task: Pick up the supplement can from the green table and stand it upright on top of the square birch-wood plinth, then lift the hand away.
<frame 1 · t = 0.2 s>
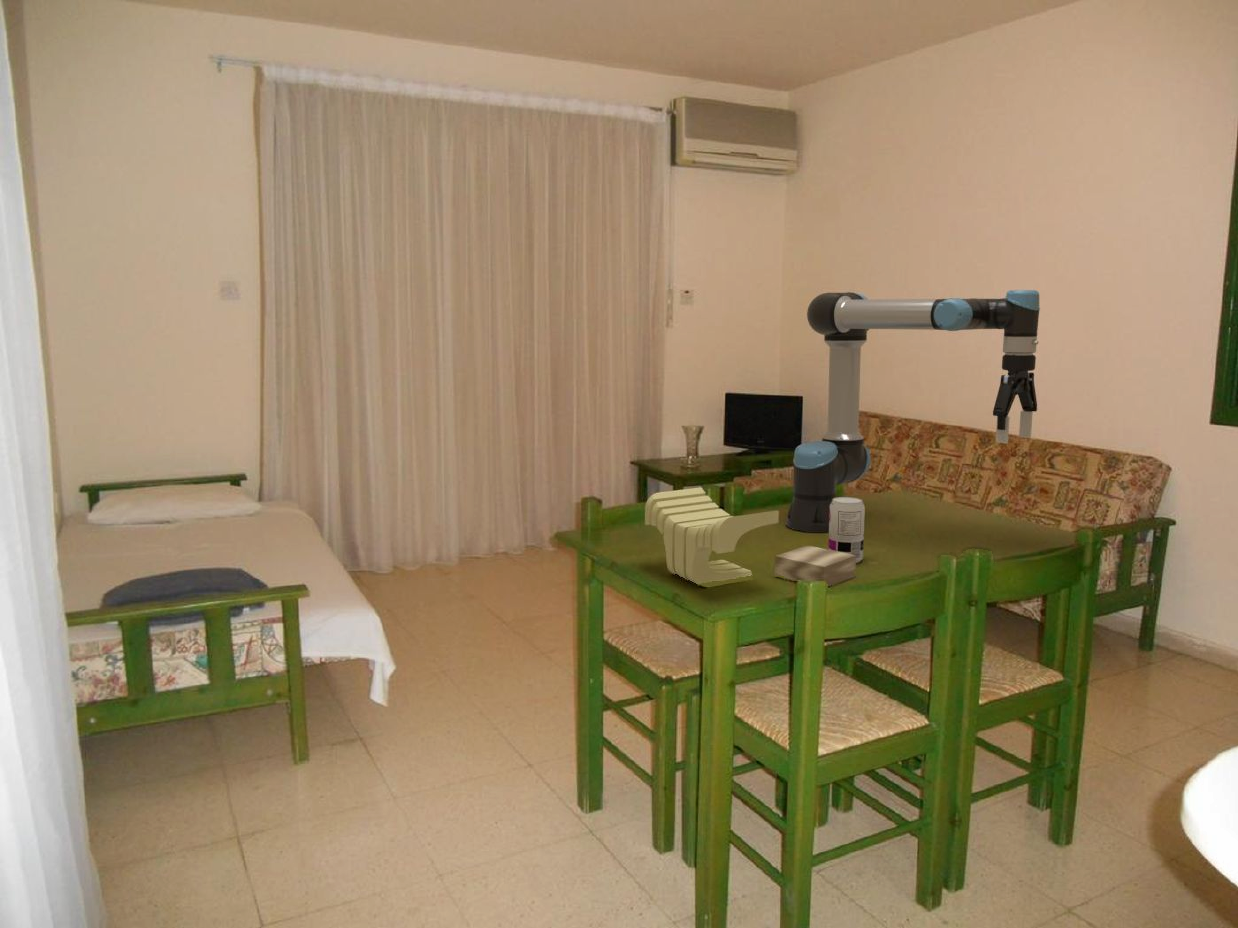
hand: (1013, 440, 228), 28 cm above the table, tool pointing down, fingers open, 13 cm apart
supplement can: (845, 560, 224), on the table
slatted curved stool: (708, 578, 211), on the table
birch plinth: (815, 576, 211), on the table
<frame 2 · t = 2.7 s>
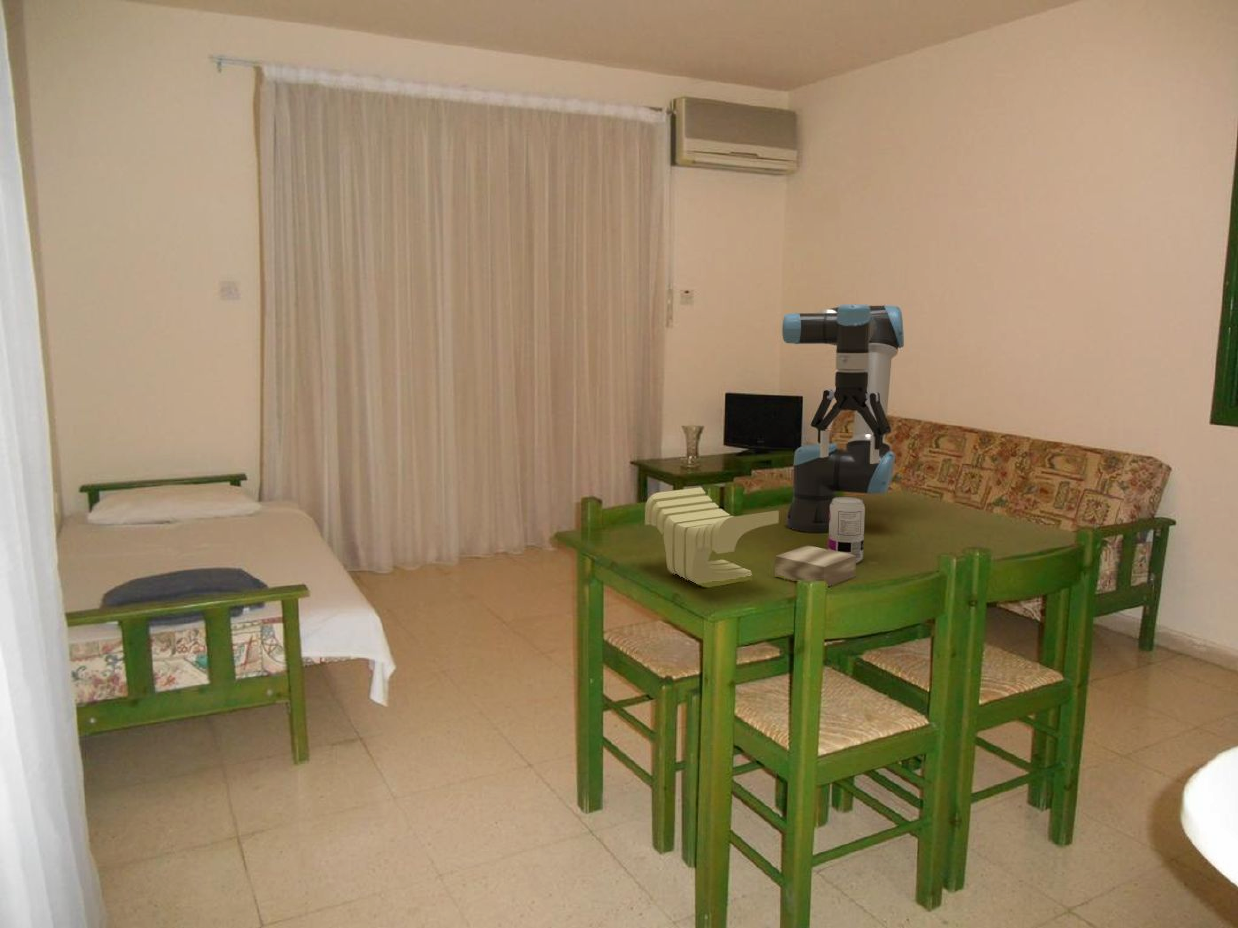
hand: (848, 460, 220), 25 cm above the table, tool pointing down, fingers open, 13 cm apart
nothing on the table moved.
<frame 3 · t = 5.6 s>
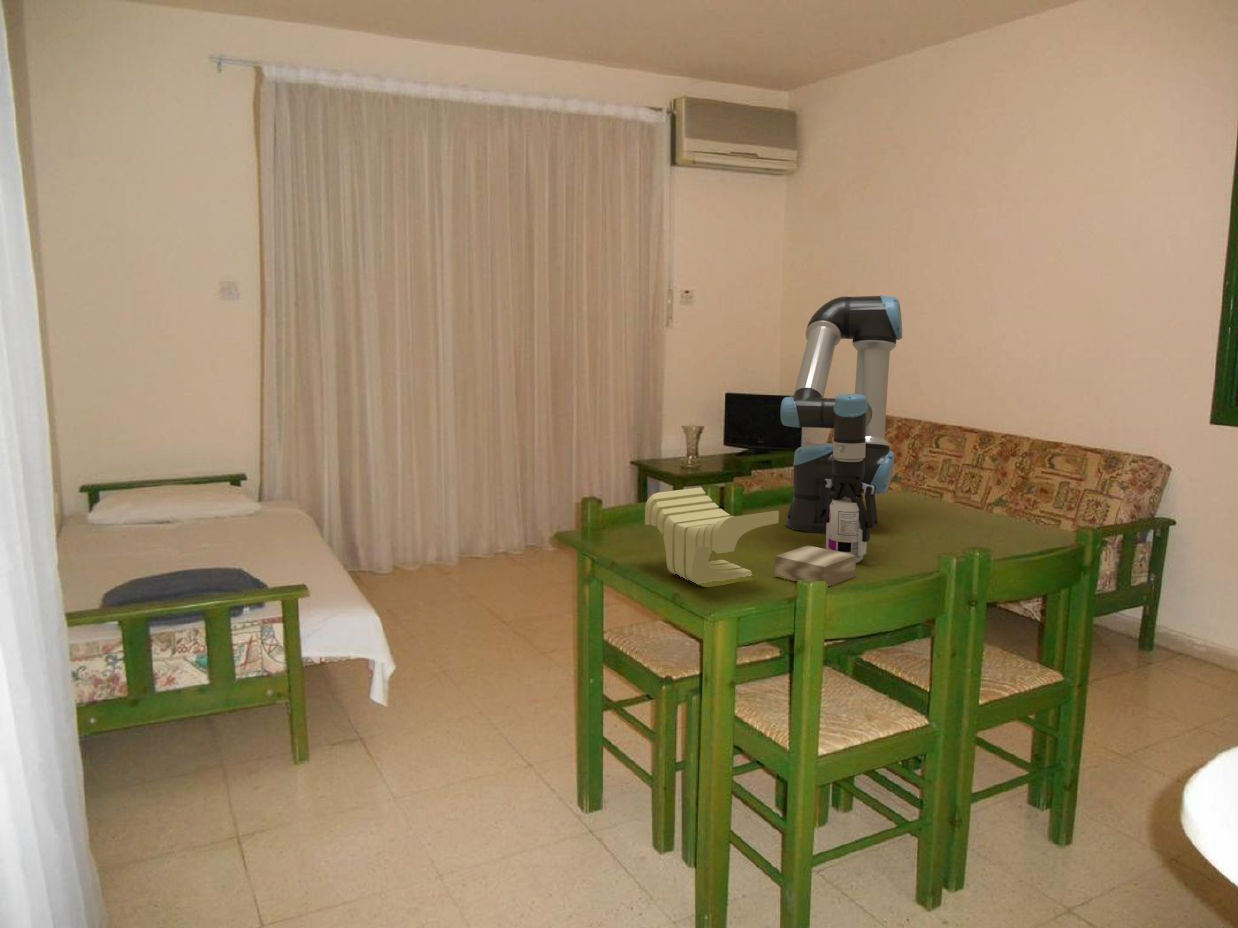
hand: (845, 550, 224), 2 cm above the table, tool pointing down, fingers closed on supplement can, 8 cm apart
supplement can: (845, 560, 224), on the table, touching gripper
everything else where it was.
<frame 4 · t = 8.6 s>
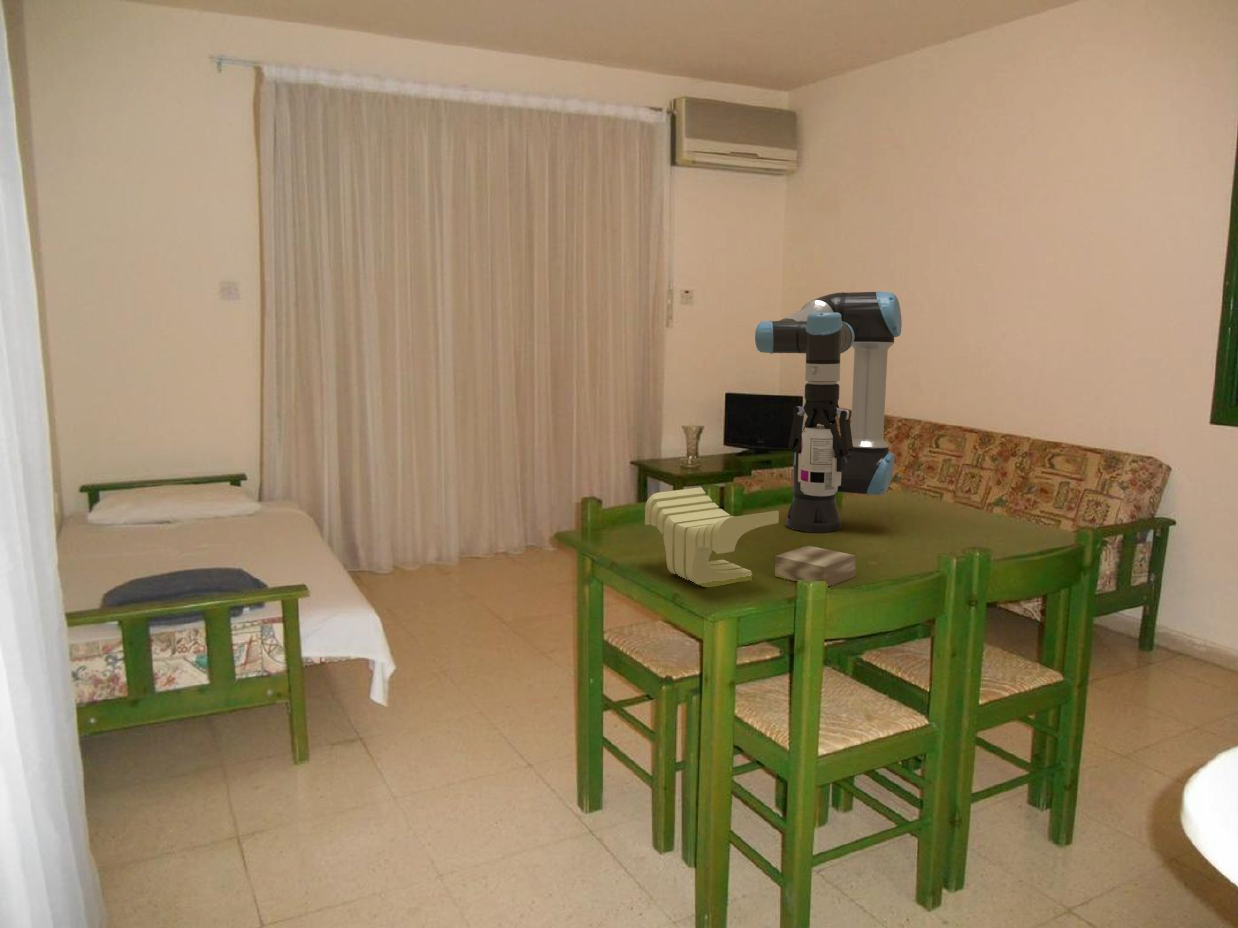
hand: (819, 483, 207), 22 cm above the table, tool pointing down, fingers closed on supplement can, 8 cm apart
supplement can: (818, 494, 208), point 19 cm above the table, touching gripper
everything else where it was.
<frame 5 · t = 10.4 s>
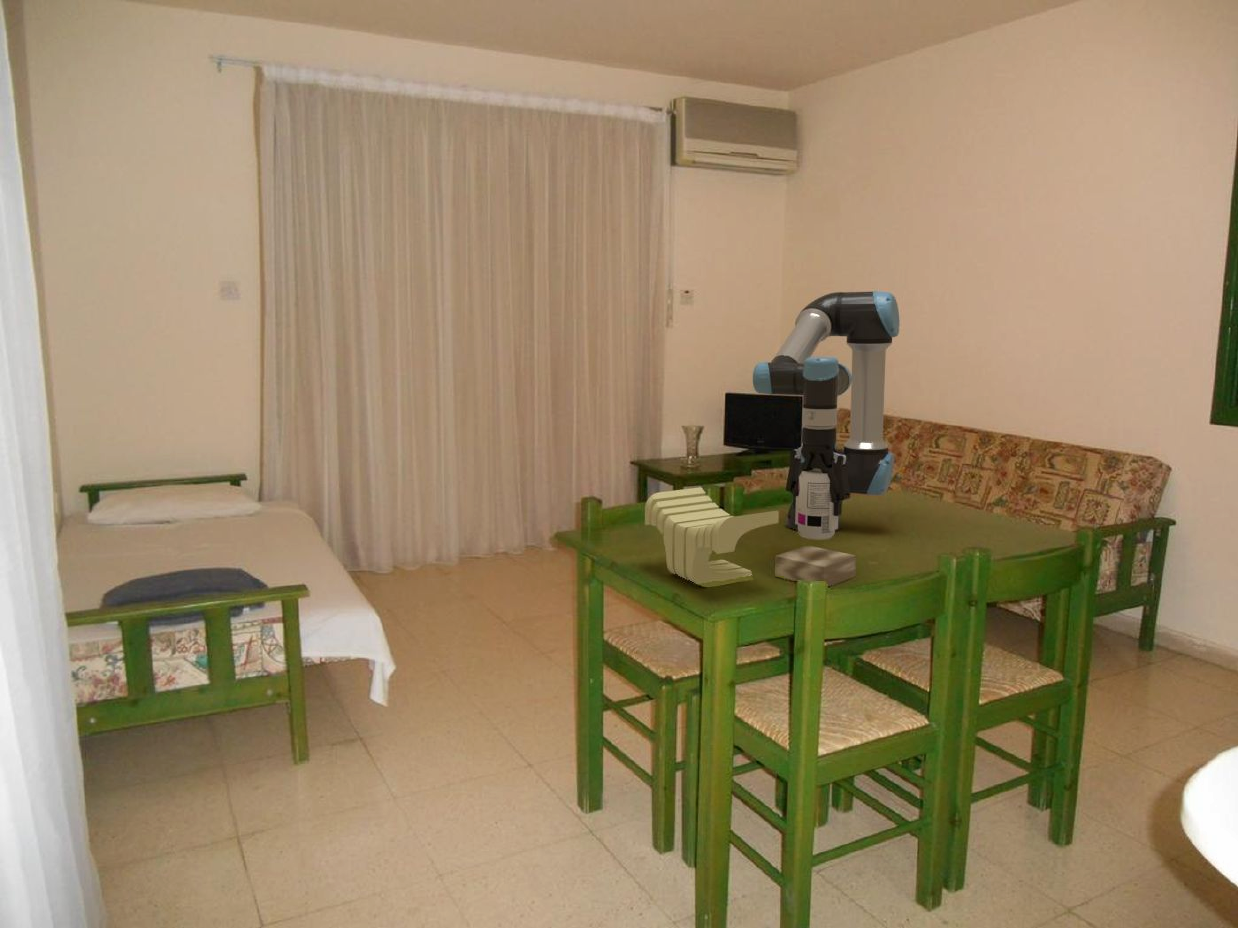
hand: (816, 526, 209), 12 cm above the table, tool pointing down, fingers closed on supplement can, 8 cm apart
supplement can: (815, 536, 209), point 9 cm above the table, touching gripper
everything else where it was.
when the fingers open (9 cm above the table, at t = 11.9 s): supplement can drops 1 cm, resting on birch plinth.
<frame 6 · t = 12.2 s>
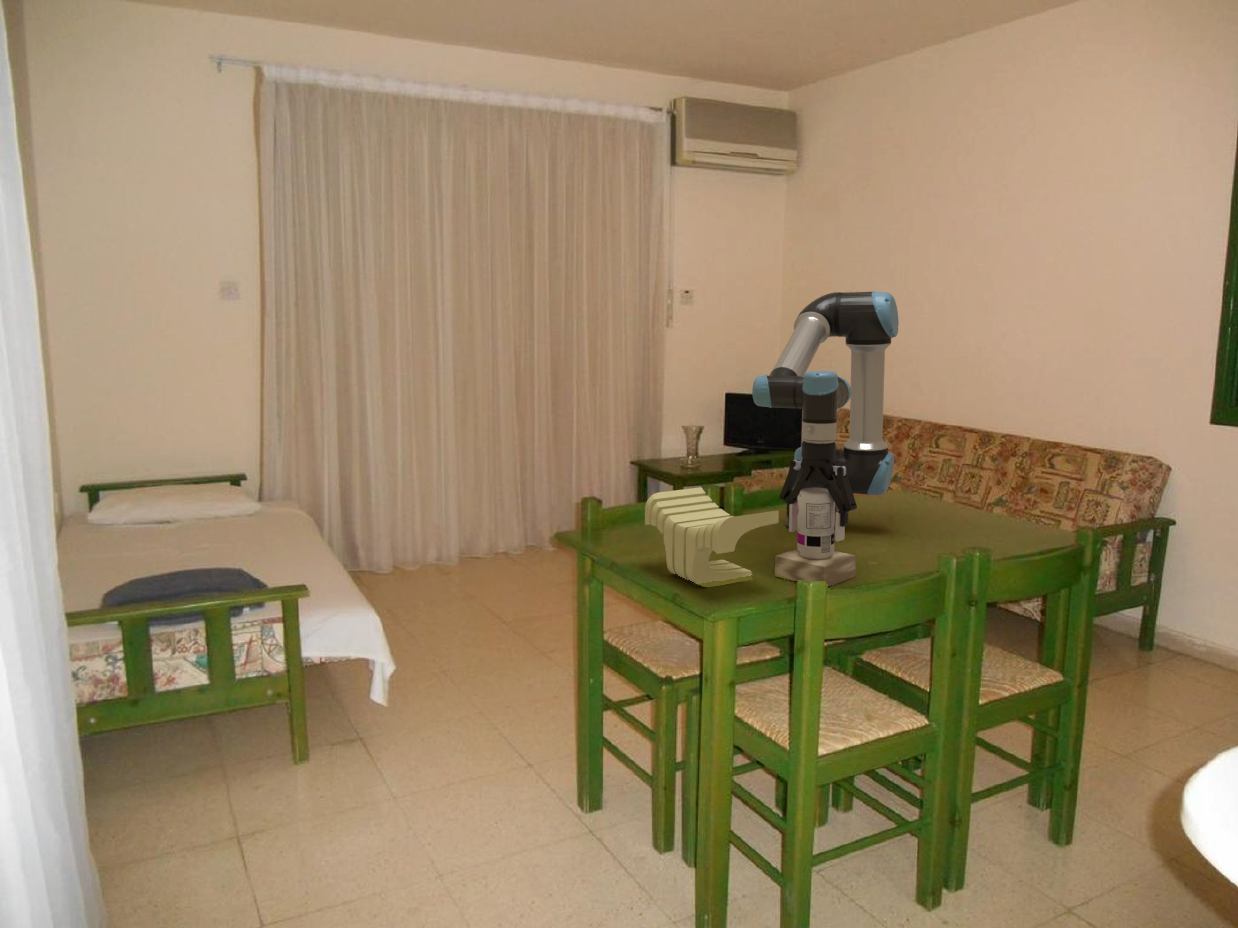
hand: (816, 535, 209), 10 cm above the table, tool pointing down, fingers open, 11 cm apart
supplement can: (815, 555, 210), point 5 cm above the table, touching birch plinth
everything else where it was.
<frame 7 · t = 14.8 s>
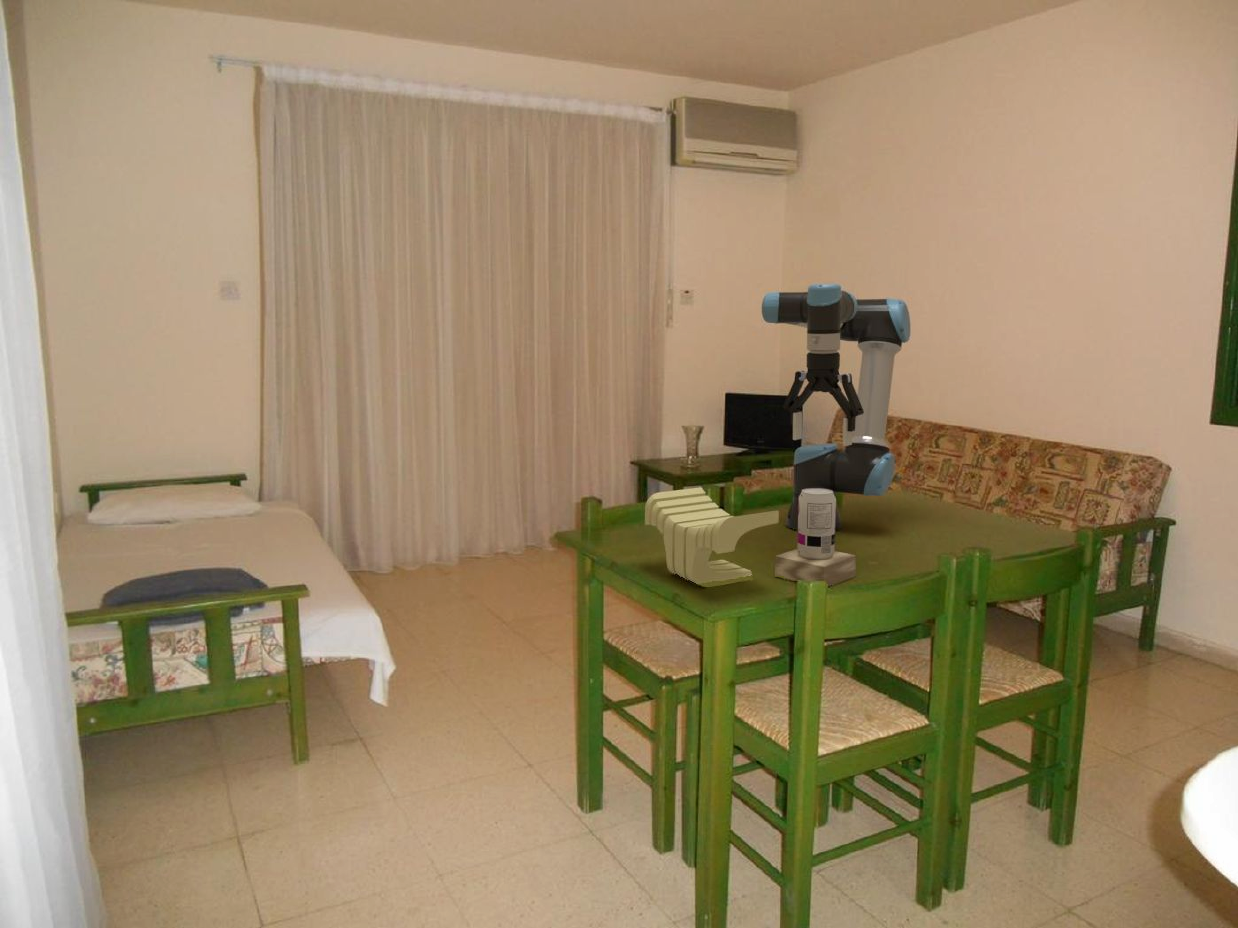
hand: (821, 442, 217), 29 cm above the table, tool pointing down, fingers open, 13 cm apart
nothing on the table moved.
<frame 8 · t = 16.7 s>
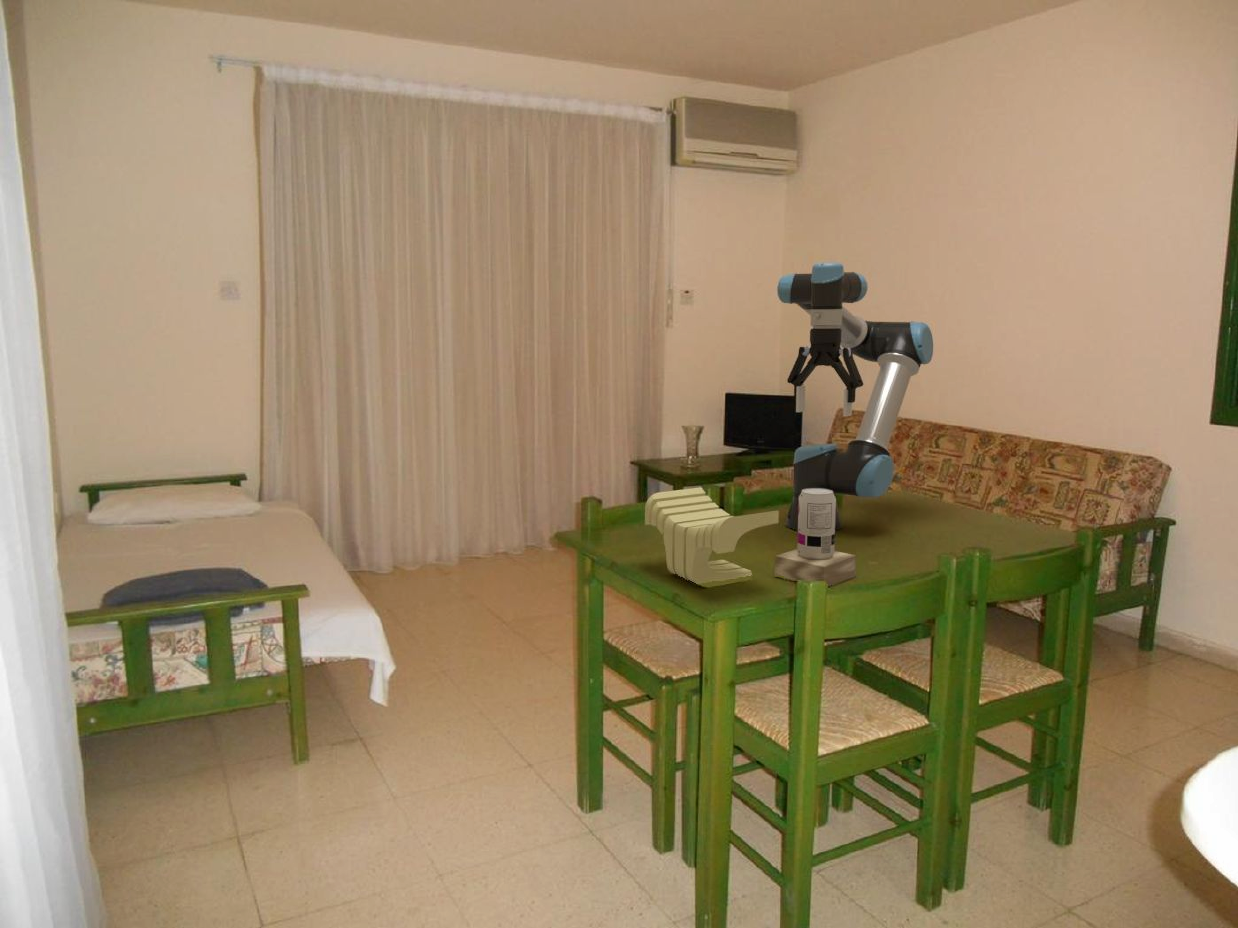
hand: (823, 414, 228), 35 cm above the table, tool pointing down, fingers open, 13 cm apart
nothing on the table moved.
at the end: supplement can inside the target area on the birch plinth (0.0 cm from its centre), point 4.8 cm above the birch plinth's base; supplement can tilted 0°; the gripper is holding nothing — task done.
